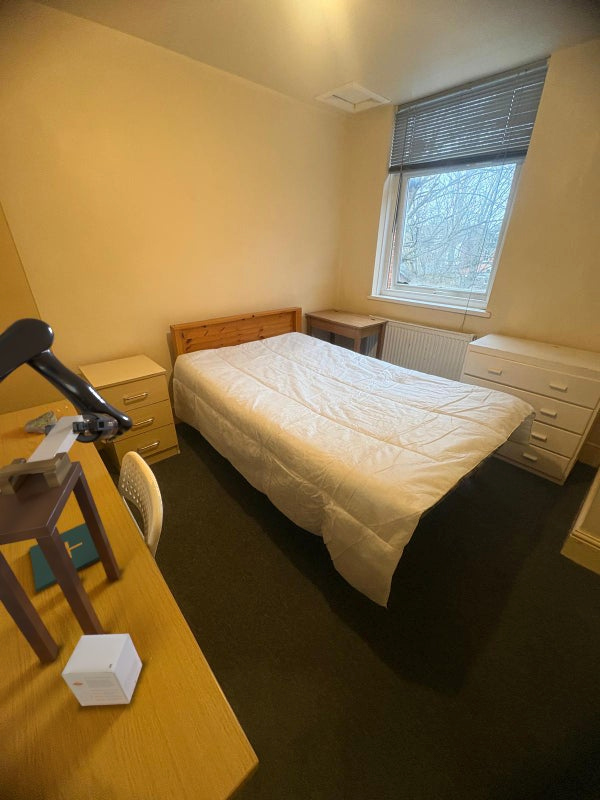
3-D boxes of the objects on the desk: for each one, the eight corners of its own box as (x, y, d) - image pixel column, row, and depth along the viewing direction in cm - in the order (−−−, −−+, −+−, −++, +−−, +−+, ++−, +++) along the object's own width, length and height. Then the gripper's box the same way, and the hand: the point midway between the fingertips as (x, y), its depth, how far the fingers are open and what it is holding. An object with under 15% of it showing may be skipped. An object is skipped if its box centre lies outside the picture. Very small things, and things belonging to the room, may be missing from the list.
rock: (36, 420, 135) (31, 413, 133) (62, 414, 138) (57, 408, 136) (24, 439, 125) (18, 432, 123) (52, 433, 127) (47, 426, 125)
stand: (42, 664, 58) (-52, 522, 42) (71, 583, 72) (8, 452, 56) (103, 646, 61) (36, 506, 45) (120, 571, 74) (73, 444, 58)
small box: (143, 665, 58) (130, 632, 53) (129, 705, 53) (113, 672, 48) (98, 666, 58) (81, 633, 53) (80, 707, 53) (59, 674, 48)
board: (37, 592, 70) (35, 589, 69) (31, 550, 79) (29, 547, 79) (108, 555, 78) (107, 552, 78) (94, 521, 88) (93, 518, 87)
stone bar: (30, 474, 56) (25, 462, 55) (64, 426, 71) (61, 417, 70) (56, 470, 57) (52, 459, 56) (85, 424, 72) (81, 414, 71)
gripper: (59, 416, 80) (18, 414, 64) (122, 409, 84) (98, 406, 67) (62, 446, 80) (22, 452, 63) (125, 438, 84) (102, 441, 67)
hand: (62, 428), depth 65 cm, fingers closed on stone bar, 4 cm apart
